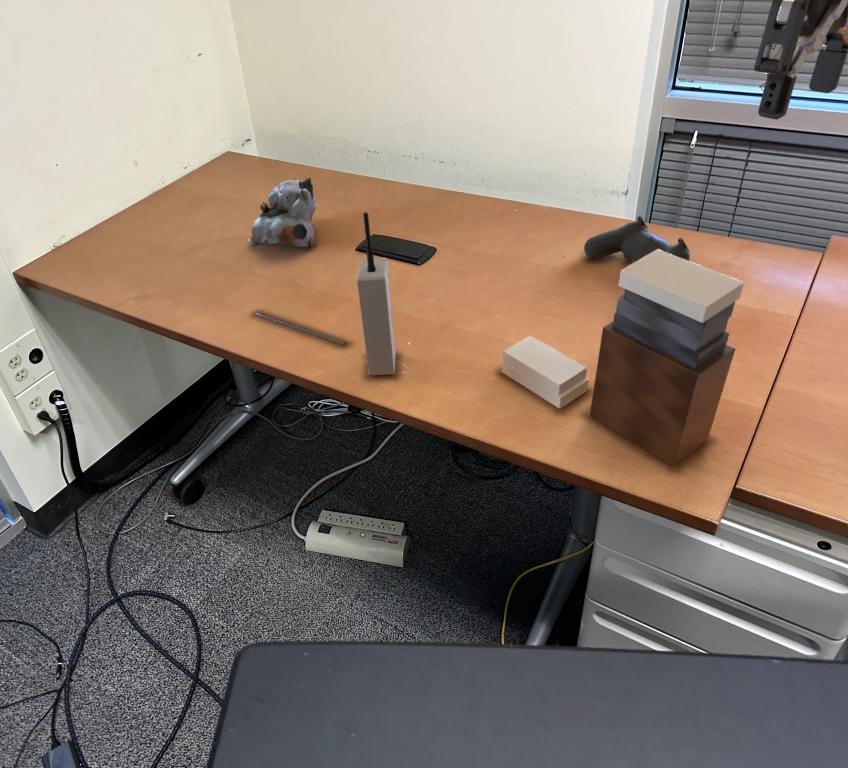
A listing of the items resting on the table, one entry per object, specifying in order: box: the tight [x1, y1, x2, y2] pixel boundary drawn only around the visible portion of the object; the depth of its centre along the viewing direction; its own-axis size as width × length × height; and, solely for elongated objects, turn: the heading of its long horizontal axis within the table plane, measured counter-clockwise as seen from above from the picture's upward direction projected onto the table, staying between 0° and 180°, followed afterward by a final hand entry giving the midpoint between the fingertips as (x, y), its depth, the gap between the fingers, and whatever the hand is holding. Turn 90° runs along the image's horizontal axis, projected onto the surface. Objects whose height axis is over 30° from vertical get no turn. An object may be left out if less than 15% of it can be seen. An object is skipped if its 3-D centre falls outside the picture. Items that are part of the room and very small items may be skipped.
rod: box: [255, 311, 347, 347], centre depth 112 cm, size 1×19×1 cm, turn 52°
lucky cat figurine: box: [246, 177, 317, 248], centre depth 132 cm, size 15×12×14 cm
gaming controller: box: [583, 215, 691, 262], centre depth 111 cm, size 17×6×10 cm
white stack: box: [501, 335, 590, 409], centre depth 93 cm, size 10×5×4 cm, turn 34°
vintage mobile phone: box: [356, 212, 396, 376], centre depth 94 cm, size 4×5×25 cm
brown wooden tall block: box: [589, 288, 736, 467], centre depth 79 cm, size 12×7×20 cm, turn 34°
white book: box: [618, 249, 745, 323], centre depth 72 cm, size 10×6×2 cm, turn 34°
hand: (796, 103), depth 65 cm, fingers open, 8 cm apart
